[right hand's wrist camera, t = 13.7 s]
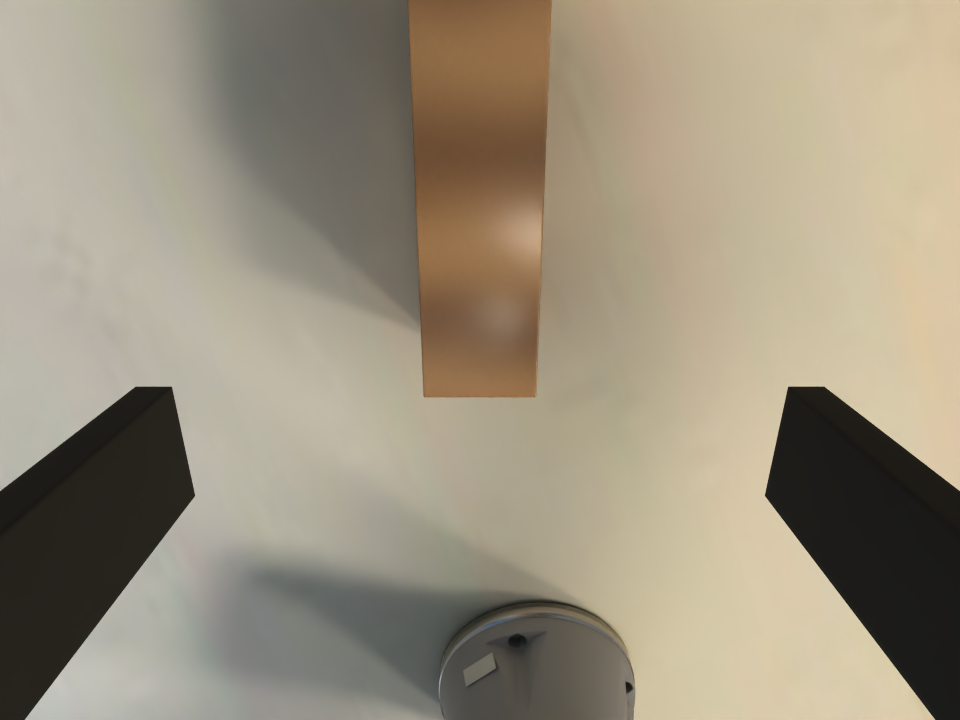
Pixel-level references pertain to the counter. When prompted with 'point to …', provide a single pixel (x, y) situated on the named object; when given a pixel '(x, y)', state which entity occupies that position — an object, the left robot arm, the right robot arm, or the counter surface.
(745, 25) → the counter surface
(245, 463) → the counter surface
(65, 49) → the counter surface
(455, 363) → the beam
